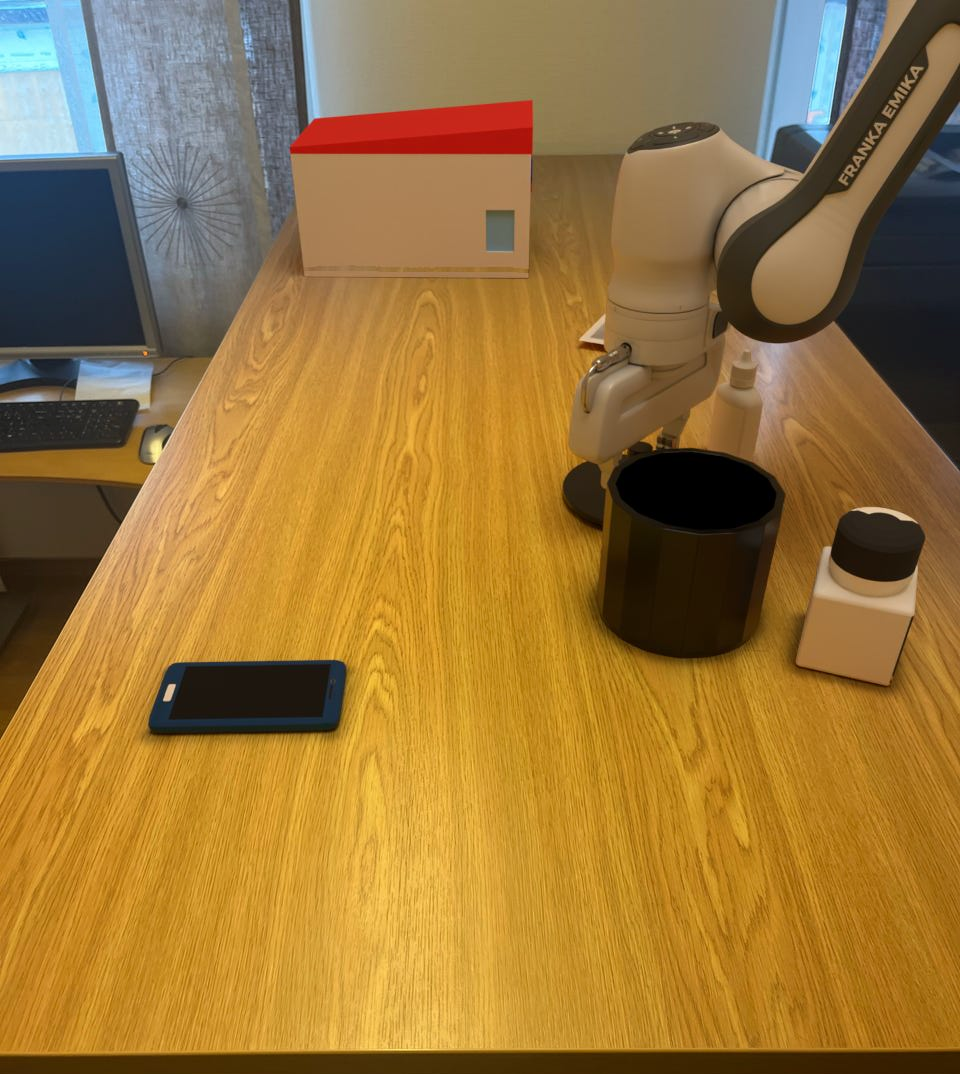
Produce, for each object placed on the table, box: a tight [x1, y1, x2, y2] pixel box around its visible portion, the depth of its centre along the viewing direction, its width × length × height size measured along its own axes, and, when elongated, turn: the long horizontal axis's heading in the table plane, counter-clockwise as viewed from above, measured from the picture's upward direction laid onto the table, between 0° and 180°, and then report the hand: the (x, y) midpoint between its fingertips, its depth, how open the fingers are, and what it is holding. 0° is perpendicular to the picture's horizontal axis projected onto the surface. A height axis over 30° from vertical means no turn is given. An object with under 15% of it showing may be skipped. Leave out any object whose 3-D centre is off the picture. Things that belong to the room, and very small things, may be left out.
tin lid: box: [561, 440, 654, 527], centre depth 95 cm, size 14×14×6 cm
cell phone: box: [147, 659, 347, 734], centre depth 73 cm, size 7×14×1 cm, turn 91°
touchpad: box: [578, 312, 606, 345], centre depth 131 cm, size 8×15×2 cm, turn 155°
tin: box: [596, 447, 786, 659], centre depth 79 cm, size 13×13×12 cm
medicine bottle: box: [795, 506, 926, 686], centre depth 74 cm, size 7×7×12 cm
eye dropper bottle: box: [706, 348, 764, 463], centre depth 99 cm, size 4×6×12 cm
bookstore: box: [289, 99, 534, 279], centre depth 152 cm, size 21×35×21 cm, turn 88°
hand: (640, 468), depth 95 cm, fingers open, 8 cm apart
